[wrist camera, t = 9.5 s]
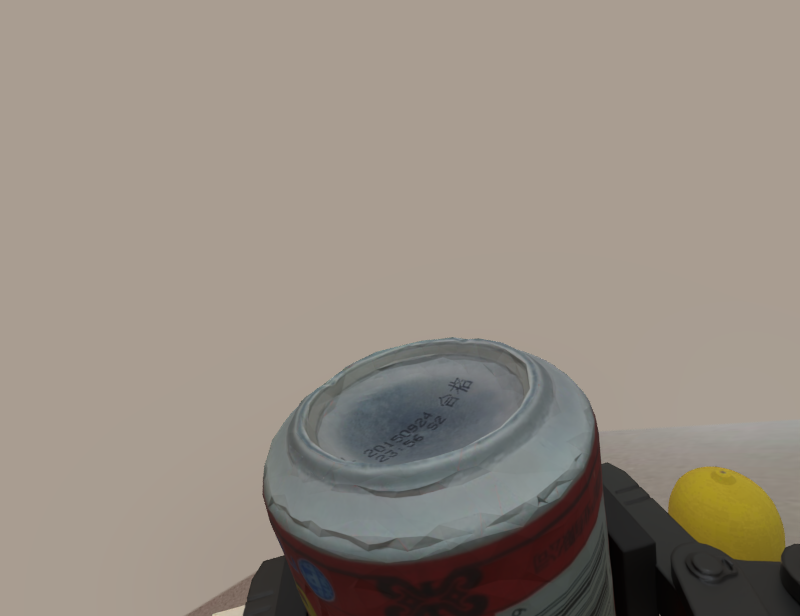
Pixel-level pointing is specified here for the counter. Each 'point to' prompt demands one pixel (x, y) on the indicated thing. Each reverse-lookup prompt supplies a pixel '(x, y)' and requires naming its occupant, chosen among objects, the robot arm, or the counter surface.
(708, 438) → the counter surface
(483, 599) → the soda can
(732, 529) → the lemon
